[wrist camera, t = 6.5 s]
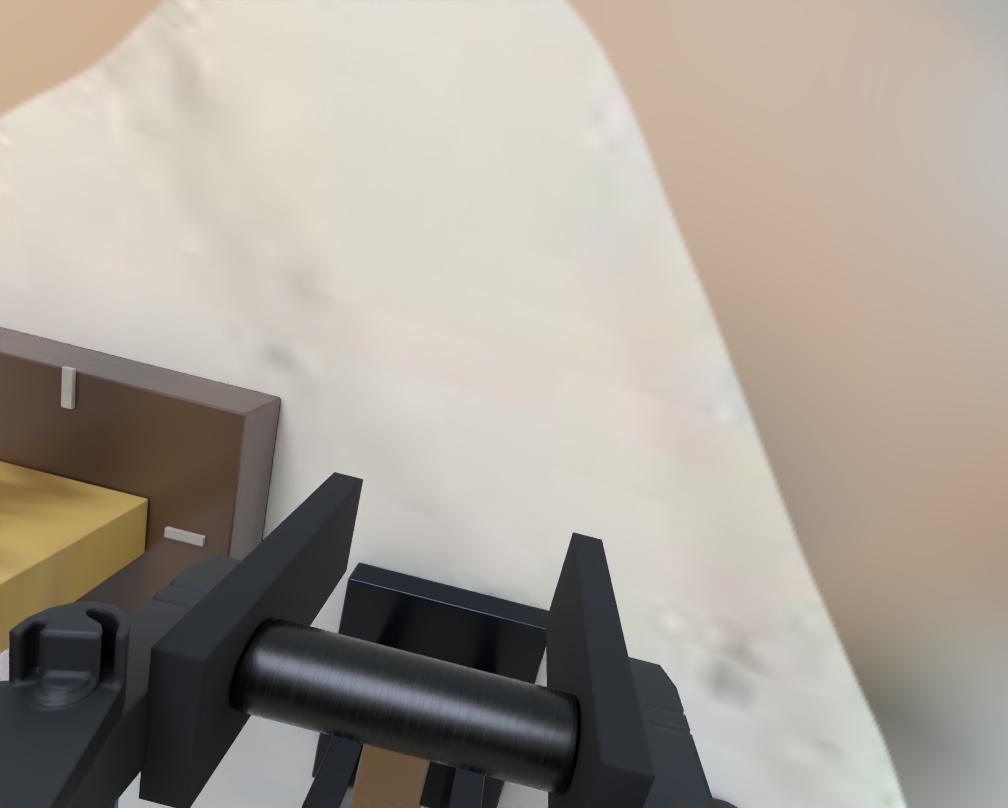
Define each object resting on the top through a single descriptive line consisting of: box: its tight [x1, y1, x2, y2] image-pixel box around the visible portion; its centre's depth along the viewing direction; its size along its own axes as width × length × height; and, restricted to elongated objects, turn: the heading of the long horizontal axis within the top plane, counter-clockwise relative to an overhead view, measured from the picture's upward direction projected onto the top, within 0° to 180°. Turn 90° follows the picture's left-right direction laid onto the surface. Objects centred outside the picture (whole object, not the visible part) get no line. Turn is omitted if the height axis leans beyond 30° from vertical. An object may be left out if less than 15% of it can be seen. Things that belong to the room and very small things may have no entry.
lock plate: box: [0, 327, 281, 616], centre depth 20 cm, size 12×10×3 cm
